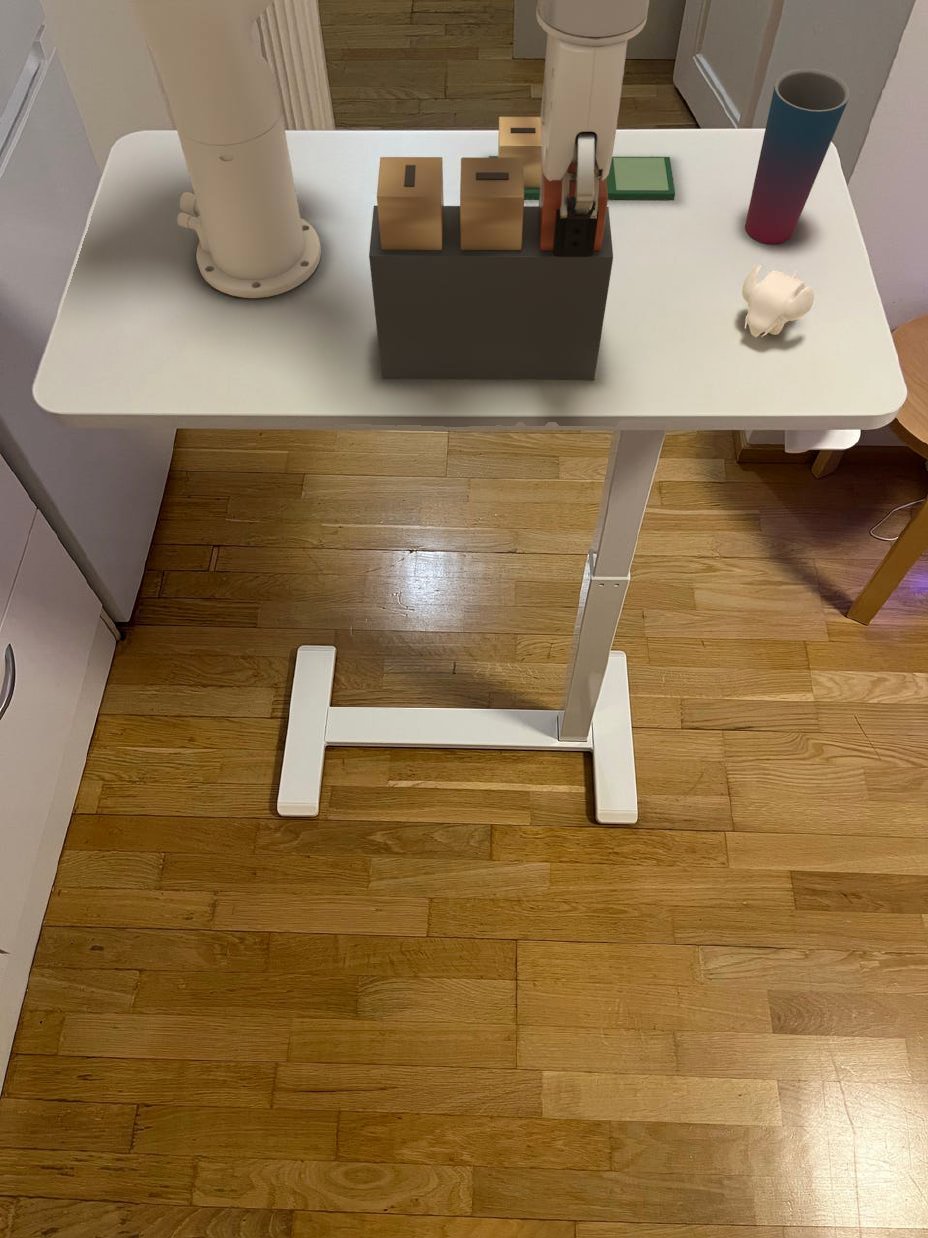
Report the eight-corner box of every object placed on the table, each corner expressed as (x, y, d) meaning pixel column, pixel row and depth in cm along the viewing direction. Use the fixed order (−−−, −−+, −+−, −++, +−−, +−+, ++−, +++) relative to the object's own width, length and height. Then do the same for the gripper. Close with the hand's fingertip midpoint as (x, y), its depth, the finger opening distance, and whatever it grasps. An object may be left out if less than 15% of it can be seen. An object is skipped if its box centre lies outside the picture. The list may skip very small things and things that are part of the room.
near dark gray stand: (382, 378, 92) (362, 200, 75) (385, 330, 95) (368, 149, 78) (594, 380, 91) (621, 202, 75) (590, 331, 95) (616, 150, 78)
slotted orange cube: (539, 250, 80) (543, 195, 75) (538, 211, 82) (542, 155, 78) (600, 251, 80) (608, 196, 75) (597, 211, 82) (604, 156, 78)
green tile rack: (488, 198, 105) (489, 148, 100) (488, 162, 108) (489, 111, 103) (674, 199, 105) (684, 149, 100) (668, 162, 108) (678, 112, 103)
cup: (801, 253, 100) (849, 114, 87) (734, 245, 101) (773, 106, 88) (802, 211, 104) (850, 72, 91) (738, 203, 104) (776, 64, 91)
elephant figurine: (716, 333, 94) (730, 284, 89) (755, 288, 98) (771, 238, 93) (779, 363, 92) (797, 315, 87) (816, 315, 96) (836, 266, 91)
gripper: (534, -72, 69) (523, 153, 85) (540, 67, 61) (526, 291, 76) (639, -72, 69) (609, 153, 84) (661, 67, 61) (623, 292, 76)
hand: (570, 217), depth 80 cm, fingers open, 8 cm apart
